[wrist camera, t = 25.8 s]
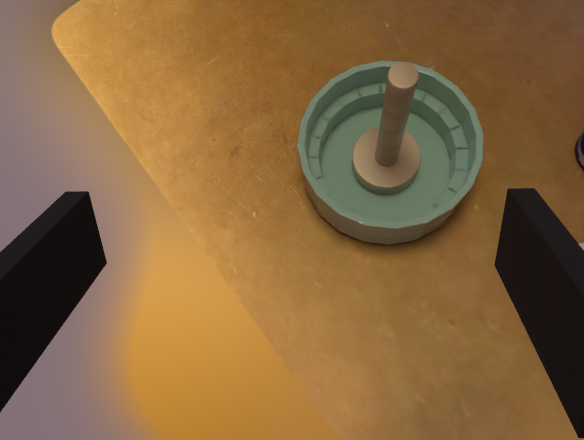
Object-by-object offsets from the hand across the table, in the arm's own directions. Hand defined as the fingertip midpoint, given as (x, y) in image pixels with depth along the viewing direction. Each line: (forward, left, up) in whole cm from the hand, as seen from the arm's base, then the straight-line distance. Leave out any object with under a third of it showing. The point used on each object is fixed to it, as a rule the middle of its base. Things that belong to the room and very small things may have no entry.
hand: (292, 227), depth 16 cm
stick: (+12, +10, -29) cm, 33 cm away
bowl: (+12, +10, -30) cm, 34 cm away
